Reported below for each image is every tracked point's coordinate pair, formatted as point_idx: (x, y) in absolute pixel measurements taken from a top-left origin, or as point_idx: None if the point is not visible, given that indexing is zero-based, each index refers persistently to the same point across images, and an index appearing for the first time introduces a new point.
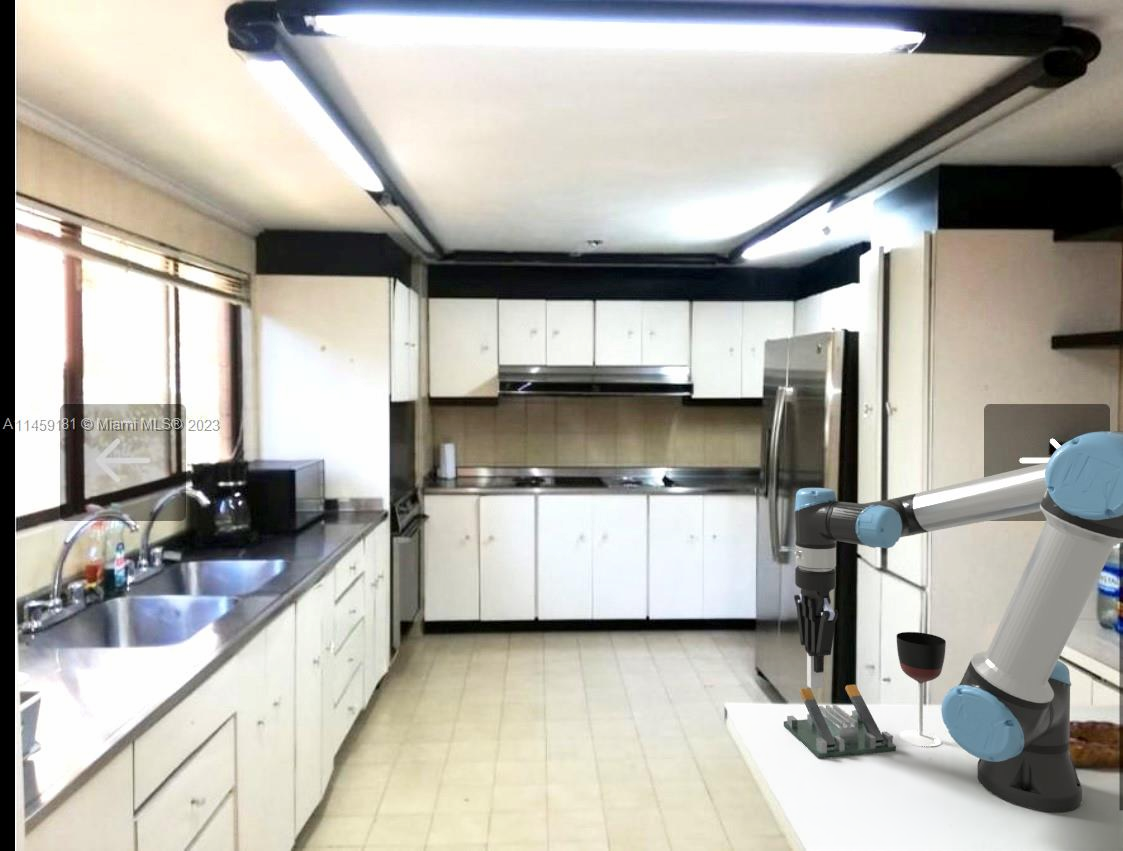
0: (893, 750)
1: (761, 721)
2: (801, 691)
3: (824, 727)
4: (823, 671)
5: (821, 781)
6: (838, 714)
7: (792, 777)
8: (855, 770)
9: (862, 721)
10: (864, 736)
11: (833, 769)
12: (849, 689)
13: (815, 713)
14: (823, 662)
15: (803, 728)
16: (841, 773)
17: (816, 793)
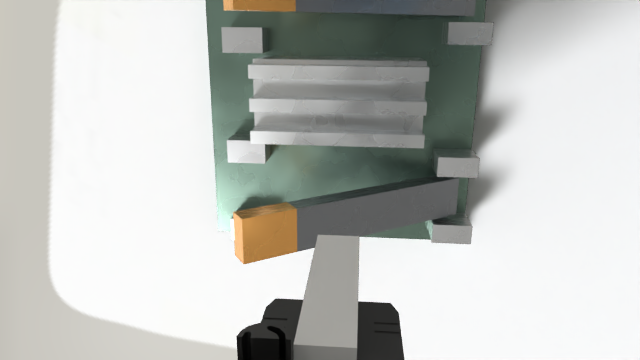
0: None
1: (179, 273)
2: (253, 260)
3: (406, 203)
4: (357, 278)
5: (583, 294)
6: (347, 109)
7: (535, 355)
8: (561, 162)
9: (388, 14)
10: None
11: (532, 225)
12: (257, 4)
13: (355, 224)
14: (400, 345)
15: (281, 193)
16: (562, 215)
17: (635, 339)
